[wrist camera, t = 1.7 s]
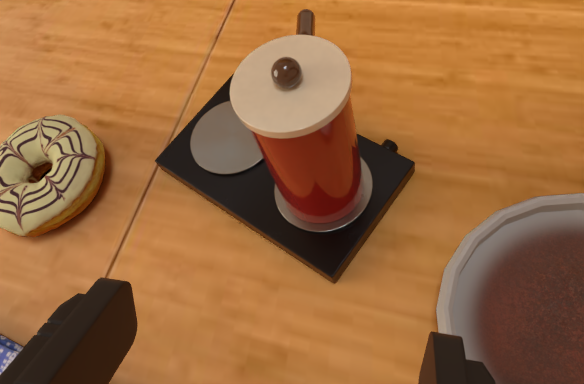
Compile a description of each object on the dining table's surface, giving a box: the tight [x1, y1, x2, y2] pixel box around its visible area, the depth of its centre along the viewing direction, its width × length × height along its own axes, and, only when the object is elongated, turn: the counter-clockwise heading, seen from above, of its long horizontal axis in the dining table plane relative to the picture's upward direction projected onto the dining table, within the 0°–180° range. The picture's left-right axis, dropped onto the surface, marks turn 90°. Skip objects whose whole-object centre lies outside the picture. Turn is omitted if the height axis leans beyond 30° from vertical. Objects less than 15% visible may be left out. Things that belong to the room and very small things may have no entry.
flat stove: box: [155, 74, 415, 283], centre depth 39 cm, size 11×18×2 cm, turn 53°
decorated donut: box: [0, 115, 105, 237], centre depth 42 cm, size 10×11×4 cm
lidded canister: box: [230, 9, 364, 223], centre depth 32 cm, size 12×6×13 cm, turn 178°
